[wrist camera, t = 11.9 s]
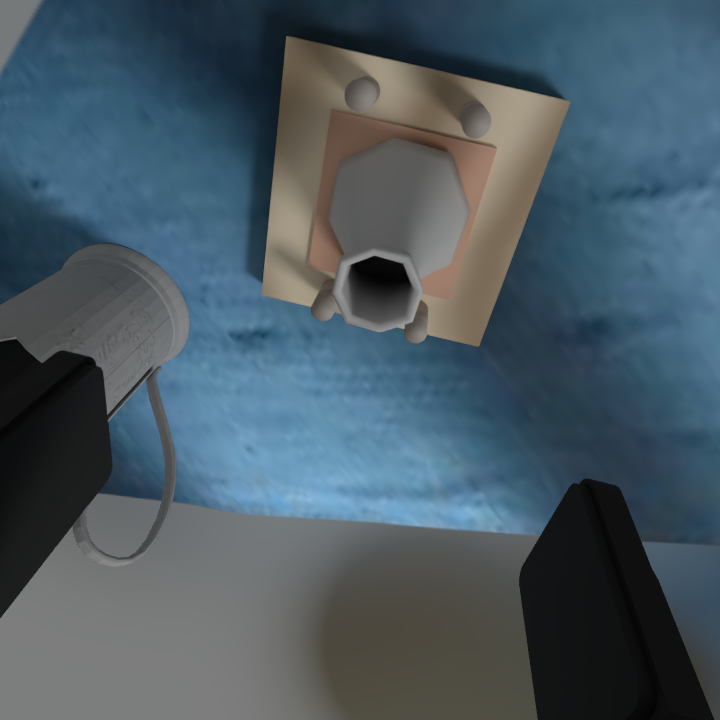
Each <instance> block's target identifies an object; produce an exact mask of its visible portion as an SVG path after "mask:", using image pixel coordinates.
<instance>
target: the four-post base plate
mask: <svg viewBox="0 0 720 720" xmlns="http://www.w3.org/2000/svg"><path fill="white" fill-rule="evenodd" d="M569 105H570V101H568V100H565V99H561V98H557V97H553V96H548V95H544V94H540V93H535V92H531V91H527V90H522V89H518V88H514V87H509V86H505V85H501V84H496V83H492V82H488V81H483V80H479V79H475V78H470V77H466V76H461V75H457V74H453V73H448V72H444V71H440V70H435V69H431V68H427V67H422V66H418V65H414V64H409V63H405V62H401V61H396V60H392V59H388V58H383V57H379V56H375V55H370V54H366V53H362V52H357V51H353V50H348V49H344V48H340V47H335V46H331V45H327V44H322V43H318V42H314V41H309V40H305V39H301V38H296V37H290V36H286V46H285V56H284V67H283V77H282V88H281V98H280V108H279V119H278V129H277V140H276V150H275V161H274V171H273V181H272V192H271V202H270V213H269V223H268V234H267V244H266V255H265V265H264V275H263V286H262V295H263V296H267V297H272V298H276V299H280V300H284V301H288V302H293V303H297V304H301V305H305V306H309V307H311V313H312V315H313V317H314V318H316V319H317V320H319V321H327V320H329V319H331V317H332V316H333V314H334V312H335V313H339V314H342V313H341V311H340V309H339V307H338V305H337V303H336V301H335V299H334V297H333V295H332V289H333V284H334V280H335V275H336V271H337V267H338V262H339V258H340V257H341V256H343V255H344V252H343V250H342V248H341V246H340V244H339V241H338V239H337V237H336V235H335V233H334V230H333V228H332V226H331V224H330V222H329V219H328V214H329V209H330V204H331V199H332V195H333V190H334V185H335V180H336V175H337V170H338V165H339V161H341V160H343V159H345V158H348V157H350V156H352V155H354V154H357V153H359V152H361V151H363V150H366V149H368V148H370V147H373V146H375V145H377V144H379V143H382V142H384V141H386V140H388V139H391V138H393V137H396V138H399V139H403V140H406V141H410V142H413V143H417V144H420V145H424V146H428V147H431V148H435V149H438V150H442V151H445V152H449V153H452V154H453V157H454V160H455V163H456V166H457V169H458V172H459V175H460V178H461V182H462V185H463V188H464V191H465V194H466V197H467V200H468V203H469V207H470V210H471V211H470V214H469V217H468V220H467V223H466V225H465V228H464V231H463V234H462V237H461V239H460V242H459V245H458V248H457V251H456V253H455V256H454V259H453V262H452V264H450V265H448V266H446V267H444V268H442V269H439V270H437V271H434V272H433V273H431V274H429V275H427V276H426V277H424V278H422V279H421V282H422V284H423V287H424V290H423V293H422V296H421V299H420V302H419V305H418V308H417V311H416V314H415V317H414V320H413V322H412V323H408V324H405V325H402V326H399V327H398V328H402V329H404V336H405V338H406V339H407V340H408V341H409V342H412V343H420V342H422V341H423V340H424V339H425V338H426V336H427V335H431V336H435V337H440V338H444V339H448V340H452V341H456V342H461V343H465V344H469V345H473V346H477V347H479V345H480V342H481V339H482V337H483V334H484V331H485V329H486V326H487V323H488V321H489V318H490V315H491V313H492V310H493V307H494V305H495V302H496V299H497V297H498V294H499V291H500V289H501V286H502V283H503V281H504V278H505V275H506V273H507V270H508V267H509V265H510V262H511V259H512V257H513V254H514V251H515V249H516V246H517V243H518V241H519V238H520V235H521V233H522V230H523V227H524V225H525V222H526V219H527V217H528V214H529V211H530V209H531V206H532V203H533V201H534V198H535V195H536V193H537V190H538V187H539V185H540V182H541V179H542V177H543V174H544V171H545V169H546V166H547V163H548V161H549V158H550V155H551V153H552V150H553V147H554V145H555V142H556V139H557V137H558V134H559V131H560V129H561V126H562V123H563V121H564V118H565V115H566V113H567V110H568V107H569Z"/></svg>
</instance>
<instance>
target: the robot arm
mask: <svg viewBox="0 0 720 720" xmlns="http://www.w3.org/2000/svg"><path fill="white" fill-rule="evenodd" d="M111 471H112V455H111V445H110V435H109V425H108V415H107V405H106V395H105V385H104V375H103V370H102V368H101V367H99V366H97V365H96V361H95V360H94V358H92V357H89V356H85V355H81V354H77V353H73V352H69V351H65V350H61V351H58V352H56V353H55V354H53V355H52V356H51V357H49V358H48V359H47V360H46V361H44V362H43V363H42V364H41V365H39V366H38V367H37V368H35V369H34V370H33V371H32V372H30V373H29V374H28V375H27V376H25V377H24V378H23V379H21V380H20V381H19V382H18V383H16V384H15V385H14V386H12V387H11V388H10V389H9V390H7V391H6V392H5V393H4V394H2V395H1V396H0V618H1V617H2V615H3V614H4V613H5V611H6V610H7V609H8V608H9V606H10V605H11V604H12V603H13V601H14V600H15V599H16V597H17V596H18V595H19V594H20V592H21V591H22V590H23V588H24V587H25V586H26V585H27V583H28V582H29V581H30V579H31V578H32V577H33V576H34V574H35V573H36V572H37V570H38V569H39V568H40V567H41V565H42V564H43V563H44V561H45V560H46V559H47V557H48V556H49V555H50V554H51V552H52V551H53V550H54V548H55V547H56V546H57V545H58V544H59V542H60V541H61V540H62V538H63V537H64V536H65V535H66V533H67V532H68V531H69V529H70V528H71V527H72V526H73V524H74V523H75V522H76V520H77V519H78V518H79V517H80V515H81V514H82V513H83V511H84V510H85V509H86V508H87V506H88V505H89V504H90V502H91V501H92V500H93V499H94V497H95V496H96V495H97V493H98V492H99V491H100V490H101V488H102V487H103V486H104V484H105V483H106V482H107V480H108V478H109V476H110V474H111ZM519 587H520V594H521V601H522V608H523V615H524V623H525V630H526V636H527V644H528V651H529V659H530V666H531V673H532V680H533V688H534V695H535V702H536V710H537V717H538V720H714V718H713V716H712V713H711V711H710V708H709V706H708V703H707V701H706V698H705V696H704V693H703V691H702V688H701V686H700V683H699V681H698V678H697V676H696V673H695V671H694V668H693V666H692V663H691V661H690V658H689V656H688V653H687V651H686V648H685V646H684V643H683V641H682V638H681V636H680V633H679V631H678V628H677V626H676V623H675V621H674V618H673V616H672V613H671V611H670V608H669V606H668V603H667V601H666V598H665V596H664V593H663V591H662V588H661V586H660V583H659V581H658V579H657V577H656V575H655V573H654V571H653V570H652V568H651V566H650V563H649V560H648V558H647V555H646V553H645V550H644V547H643V545H642V542H641V540H640V537H639V535H638V532H637V530H636V527H635V525H634V522H633V520H632V517H631V515H630V512H629V510H628V507H627V505H626V502H625V500H624V497H623V495H622V492H621V490H620V489H619V487H617V486H616V485H612V484H608V483H604V482H600V481H596V480H591V479H584V480H582V481H581V482H580V484H575V483H574V484H572V485H571V486H570V487H569V489H568V490H567V492H566V494H565V496H564V497H563V499H562V501H561V502H560V504H559V506H558V507H557V509H556V511H555V512H554V514H553V516H552V517H551V519H550V521H549V522H548V524H547V526H546V527H545V529H544V531H543V532H542V534H541V536H540V537H539V539H538V541H537V543H536V544H535V546H534V547H533V549H532V551H531V552H530V554H529V556H528V557H527V559H526V561H525V563H524V564H523V566H522V568H521V572H520V577H519Z"/></svg>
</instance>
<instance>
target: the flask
mask: <svg viewBox="0 0 720 720" xmlns="http://www.w3.org/2000/svg"><path fill="white" fill-rule="evenodd" d="M470 211H471V210H470V207H469V203H468V200H467V197H466V194H465V191H464V188H463V185H462V182H461V178H460V175H459V172H458V169H457V166H456V163H455V160H454V157H453V154H452V153H449V152H445V151H442V150H438V149H435V148H431V147H428V146H424V145H420V144H417V143H413V142H410V141H406V140H403V139H399V138H396V137H393V138H391V139H388V140H386V141H384V142H382V143H379V144H377V145H375V146H373V147H370V148H368V149H366V150H363V151H361V152H359V153H357V154H354V155H352V156H350V157H348V158H345V159H343V160H341V161H339V165H338V170H337V175H336V180H335V185H334V190H333V195H332V199H331V204H330V209H329V214H328V219H329V222H330V224H331V226H332V228H333V230H334V233H335V235H336V237H337V239H338V241H339V244H340V246H341V248H342V250H343V252H344V255H343V256H341V257H340V258H339V262H338V267H337V271H336V275H335V280H334V284H333V289H332V295H333V297H334V299H335V301H336V303H337V305H338V307H339V309H340V311H341V313H342V316H343V318H344V320H345V322H346V323H347V324H351V325H355V326H358V327H362V328H365V329H369V330H373V331H376V332H383V331H386V330H389V329H393V328H396V327H399V326H402V325H405V324H408V323H412V322H413V320H414V317H415V314H416V311H417V308H418V305H419V302H420V299H421V296H422V293H423V290H424V287H423V284H422V282H421V279H422V278H424V277H426V276H427V275H429V274H431V273H433V272H434V271H437V270H439V269H442V268H444V267H446V266H448V265H450V264H452V262H453V259H454V256H455V253H456V251H457V248H458V245H459V242H460V239H461V237H462V234H463V231H464V228H465V225H466V223H467V220H468V217H469V214H470Z"/></svg>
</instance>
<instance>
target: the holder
mask: <svg viewBox="0 0 720 720" xmlns="http://www.w3.org/2000/svg"><path fill="white" fill-rule="evenodd" d="M189 328H190V322H189V313H188V309H187V305H186V303H185V300H184V298H183V295H182V294H181V292H180V290H179V289H178V287H177V285H176V284H175V282H174V281H173V280H172V279H171V278H170V276H169V275H168V274H167V273H166V272H165V271H164V270H163V269H162V268H161V267H160V266H159V265H157V264H156V263H155V262H153V261H152V260H150V259H149V258H148V257H146V256H144V255H142V254H140V253H139V252H137V251H135V250H132V249H129V248H126V247H123V246H119V245H113V244H96V245H90V246H87V247H84V248H82V249H80V250H78V251H77V252H75V253H74V254H73V255H71V256H70V257H69V258H68V260H67V261H66V262H65V263H64V265H63V267H62V269H61V270H60V271H58V272H56V273H55V274H53V275H51V276H49V277H48V278H46V279H44V280H43V281H41V282H39V283H37V284H36V285H34V286H32V287H31V288H29V289H27V290H25V291H24V292H22V293H20V294H19V295H17V296H15V297H13V298H12V299H10V300H8V301H7V302H5V303H3V304H1V305H0V396H1V395H2V394H4V393H5V392H6V391H7V390H9V389H10V388H11V387H12V386H14V385H15V384H16V383H18V382H19V381H20V380H21V379H23V378H24V377H25V376H27V375H28V374H29V373H30V372H32V371H33V370H34V369H35V368H37V367H38V366H39V365H41V364H42V363H43V362H44V361H46V360H47V359H48V358H49V357H51V356H52V355H53V354H55V353H56V352H58V351H61V350H65V351H69V352H73V353H77V354H81V355H85V356H89V357H92V358H94V360H95V361H96V365H97V366H99V367H101V368H102V370H103V375H104V385H105V395H106V405H107V415H108V421H109V420H110V419H111V418H112V417H113V416H114V415H115V414H116V413H117V411H118V410H119V409H120V408H121V407H122V406H123V405H124V404H125V402H126V401H127V400H128V399H129V398H130V397H131V396H132V395H133V393H134V392H135V391H136V390H137V389H138V388H139V387H140V386H141V385H142V383H143V382H144V381H145V380H146V379H147V389H148V394H149V398H150V402H151V406H152V409H153V413H154V416H155V419H156V423H157V426H158V430H159V434H160V438H161V442H162V447H163V453H164V459H165V482H164V490H163V499H162V502H161V505H160V509H159V513H158V515H157V519H156V521H155V523H154V525H153V527H152V529H151V531H150V533H149V535H148V537H147V539H146V541H145V542H144V543H143V544H142V545H141V547H140V548H139V549H138V551H137V552H136V553H134V554H132V555H131V556H129V557H122V558H118V557H114V556H111V555H108V554H106V553H104V552H102V551H101V550H99V549H98V548H97V547H96V546H95V545H94V544H93V542H92V541H91V539H90V536H89V533H88V531H87V527H86V512H87V508H88V506H87V508H86V509H85V510H84V511H83V513H82V514H81V515H80V517H79V518H78V519H77V520H76V522H75V523H74V524H73V533H74V536H75V539H76V542H77V545H78V546H79V548H80V549H81V550H82V552H83V553H84V554H85V556H87V557H89V558H90V559H92V560H93V561H95V562H96V563H100V564H103V565H106V566H111V567H112V566H122V565H127V564H130V563H131V562H133V561H135V560H137V559H138V558H140V557H142V556H144V555H145V553H146V552H147V551H148V550H149V548H150V547H151V546H152V545H153V543H154V542H155V541H156V539H157V538H158V535H159V534H160V532H161V530H162V528H163V526H164V524H165V521H166V519H167V517H168V514H169V511H170V507H171V504H172V500H173V497H174V489H175V481H176V454H175V449H174V444H173V441H172V437H171V433H170V428H169V424H168V421H167V417H166V414H165V411H164V407H163V404H162V400H161V397H160V393H159V389H158V384H157V374H158V373H159V372H160V370H161V367H158V365H161V364H164V363H166V362H168V361H170V360H171V359H173V358H174V357H175V356H176V355H177V354H178V353H180V351H181V350H182V348H183V347H184V346H185V343H186V341H187V338H188V335H189Z"/></svg>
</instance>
